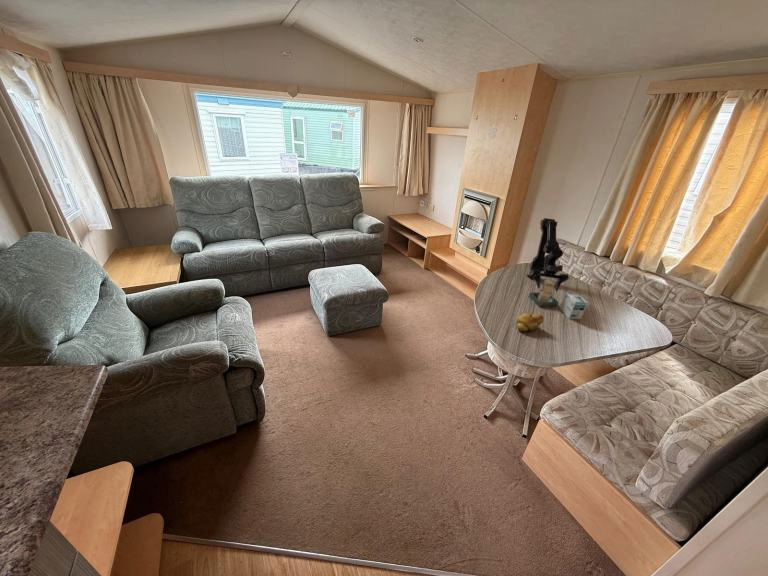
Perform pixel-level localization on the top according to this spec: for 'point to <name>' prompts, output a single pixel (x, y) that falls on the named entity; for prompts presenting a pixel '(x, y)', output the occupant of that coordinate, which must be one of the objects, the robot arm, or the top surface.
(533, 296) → the grey green tray
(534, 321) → the bread roll
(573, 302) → the light bulb box
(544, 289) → the tall beech block
